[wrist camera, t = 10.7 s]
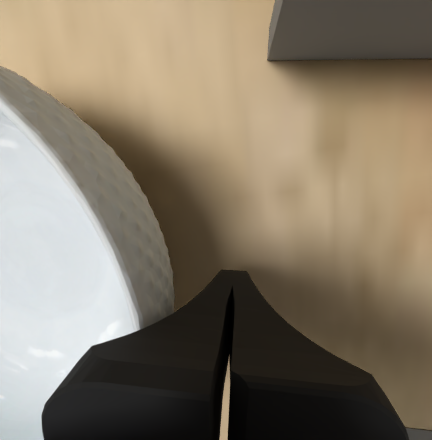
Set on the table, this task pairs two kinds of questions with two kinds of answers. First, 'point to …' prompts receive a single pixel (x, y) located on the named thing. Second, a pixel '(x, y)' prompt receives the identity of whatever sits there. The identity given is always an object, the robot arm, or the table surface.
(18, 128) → the cereal bowl
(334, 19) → the gray parallel panels
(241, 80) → the table surface
